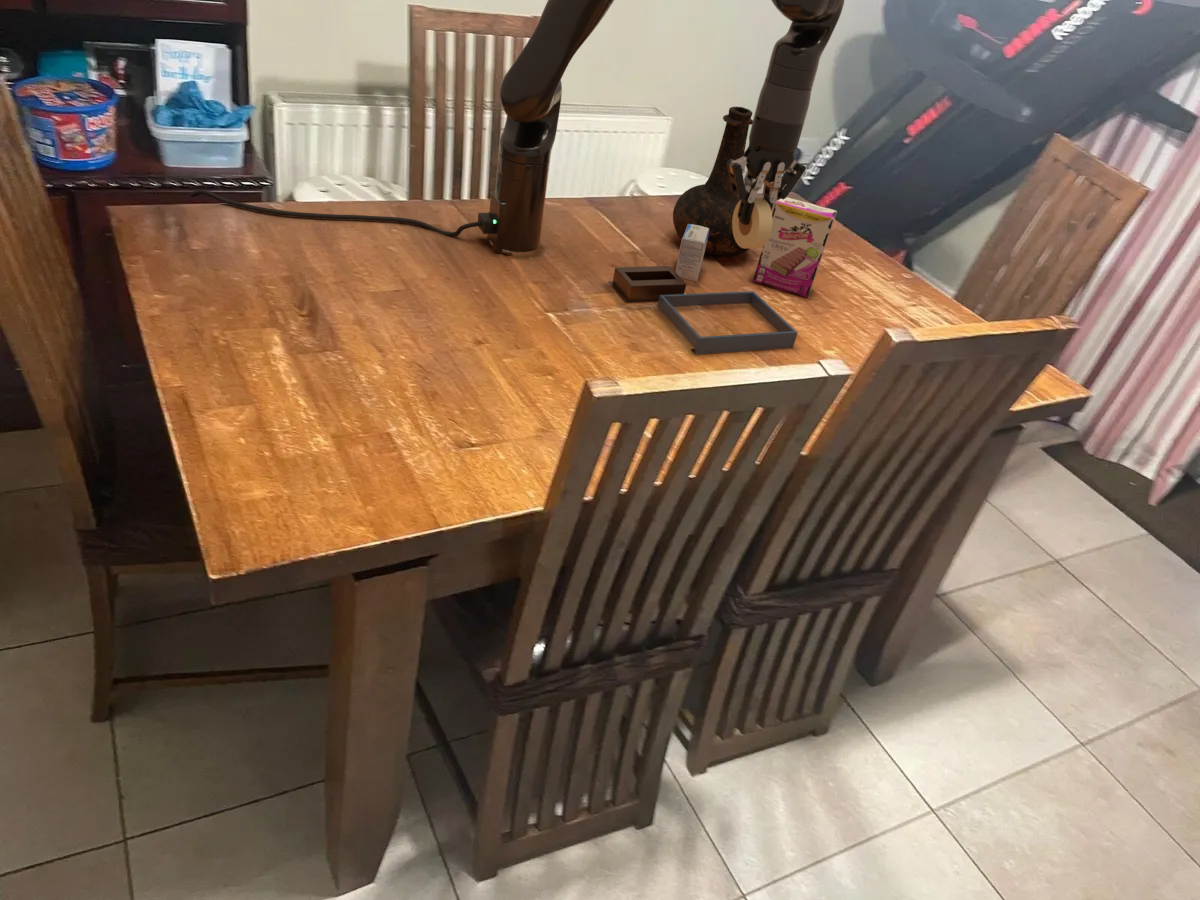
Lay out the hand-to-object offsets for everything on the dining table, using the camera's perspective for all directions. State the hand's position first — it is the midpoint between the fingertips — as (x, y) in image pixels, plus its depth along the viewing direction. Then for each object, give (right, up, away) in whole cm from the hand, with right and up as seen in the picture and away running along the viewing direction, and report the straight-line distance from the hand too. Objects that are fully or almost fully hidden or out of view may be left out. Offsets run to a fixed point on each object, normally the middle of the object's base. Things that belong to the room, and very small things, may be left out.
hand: (751, 222), depth 148 cm
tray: (-3, -16, +11) cm, 19 cm away
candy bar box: (+11, -5, +30) cm, 32 cm away
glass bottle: (-2, +4, +39) cm, 40 cm away
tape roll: (-1, -3, +2) cm, 4 cm away
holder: (-16, -9, +17) cm, 25 cm away
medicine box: (-8, -3, +27) cm, 29 cm away
